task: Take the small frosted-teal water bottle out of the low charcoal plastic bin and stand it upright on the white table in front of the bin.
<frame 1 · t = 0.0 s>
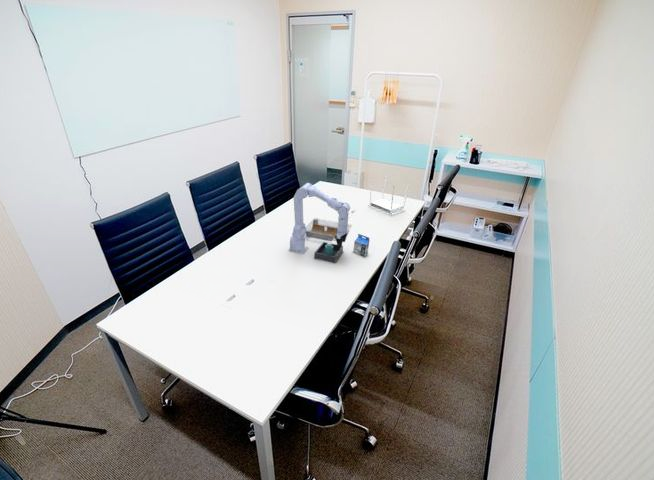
hand: (341, 244, 203), 10 cm above the table, tool pointing down, fingers open, 7 cm apart
bin: (328, 255, 212), on the table
label tape box: (360, 253, 214), on the table
router: (385, 208, 278), on the table
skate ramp: (324, 231, 241), on the table
bottle: (328, 254, 212), resting on bin
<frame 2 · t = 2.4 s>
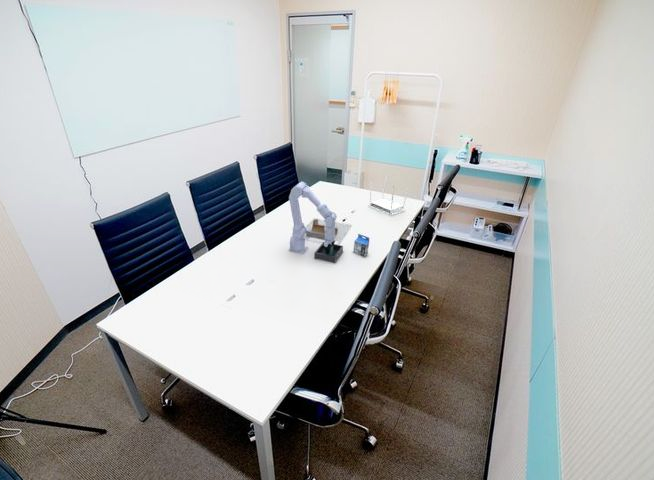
hand: (328, 251, 211), 3 cm above the table, tool pointing down, fingers closed on bottle, 5 cm apart
bottle: (328, 254, 212), resting on bin, touching gripper
everything else where it was.
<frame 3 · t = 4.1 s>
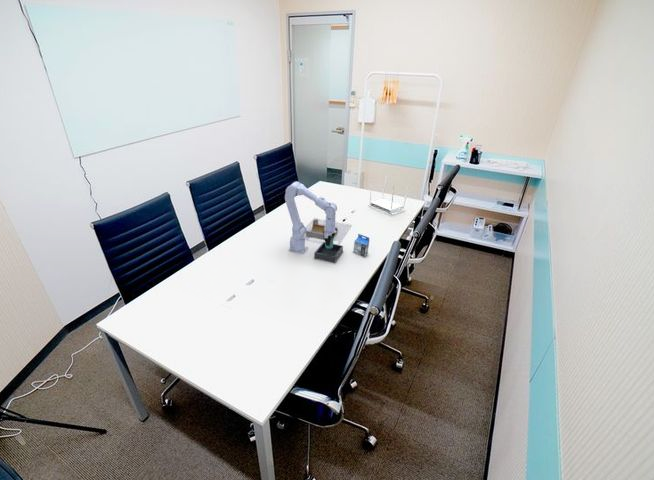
hand: (329, 243, 207), 8 cm above the table, tool pointing down, fingers closed on bottle, 5 cm apart
bottle: (329, 246, 209), point 6 cm above the table, touching gripper
everything else where it was.
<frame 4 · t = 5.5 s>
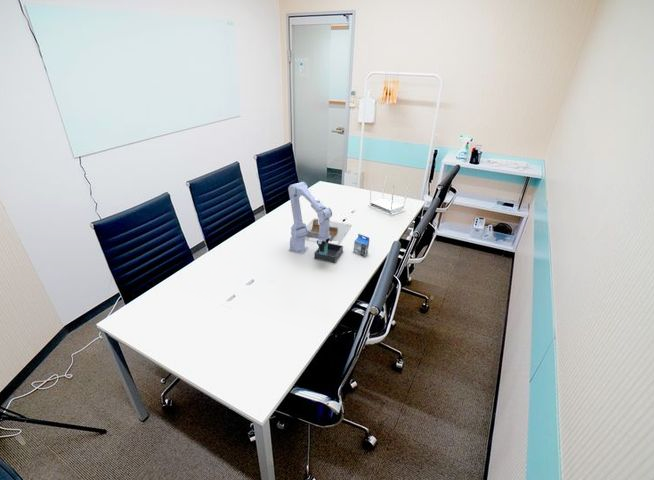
hand: (323, 249, 198), 10 cm above the table, tool pointing down, fingers closed on bottle, 5 cm apart
bottle: (323, 252, 199), point 8 cm above the table, touching gripper
everything else where it was.
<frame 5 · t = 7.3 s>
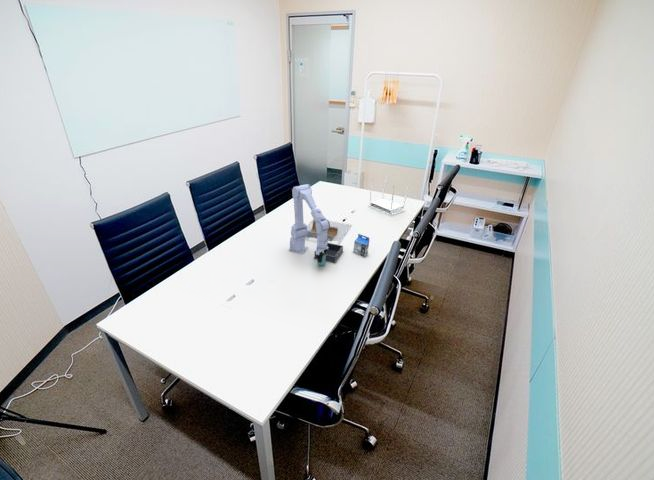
hand: (321, 259, 199), 4 cm above the table, tool pointing down, fingers closed on bottle, 5 cm apart
bottle: (321, 263, 200), point 2 cm above the table, touching gripper
everything else where it was.
when the fingers open (2 cm above the table, at t = 8.5 s): bottle stays where it is, on the table.
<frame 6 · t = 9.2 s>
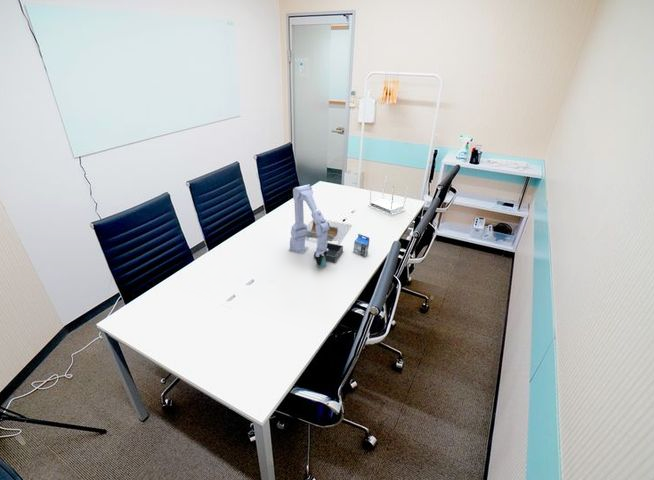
hand: (321, 261, 200), 3 cm above the table, tool pointing down, fingers open, 7 cm apart
bottle: (321, 265, 201), on the table
everything else where it was.
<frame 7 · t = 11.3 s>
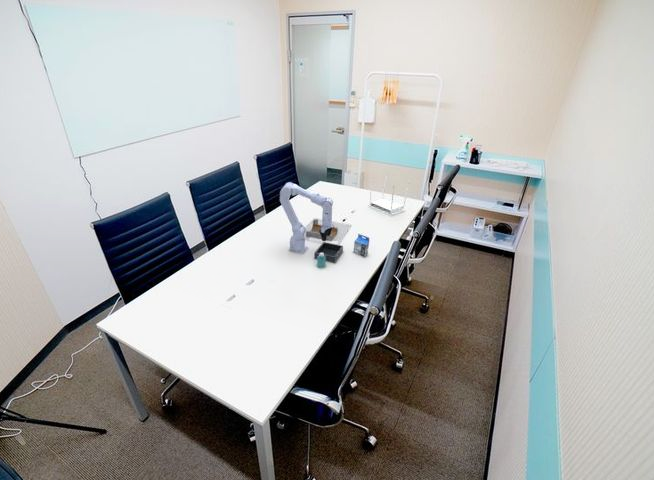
hand: (326, 238, 209), 10 cm above the table, tool pointing down, fingers open, 7 cm apart
nothing on the table moved.
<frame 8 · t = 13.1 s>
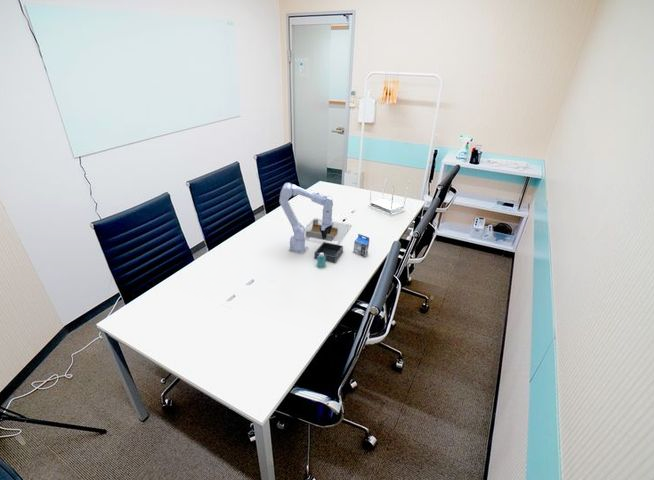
hand: (326, 236, 212), 10 cm above the table, tool pointing down, fingers open, 7 cm apart
nothing on the table moved.
at the end: bottle inside the target area (0.3 cm from its centre), on the table; bottle tilted 0°; the gripper is holding nothing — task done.
